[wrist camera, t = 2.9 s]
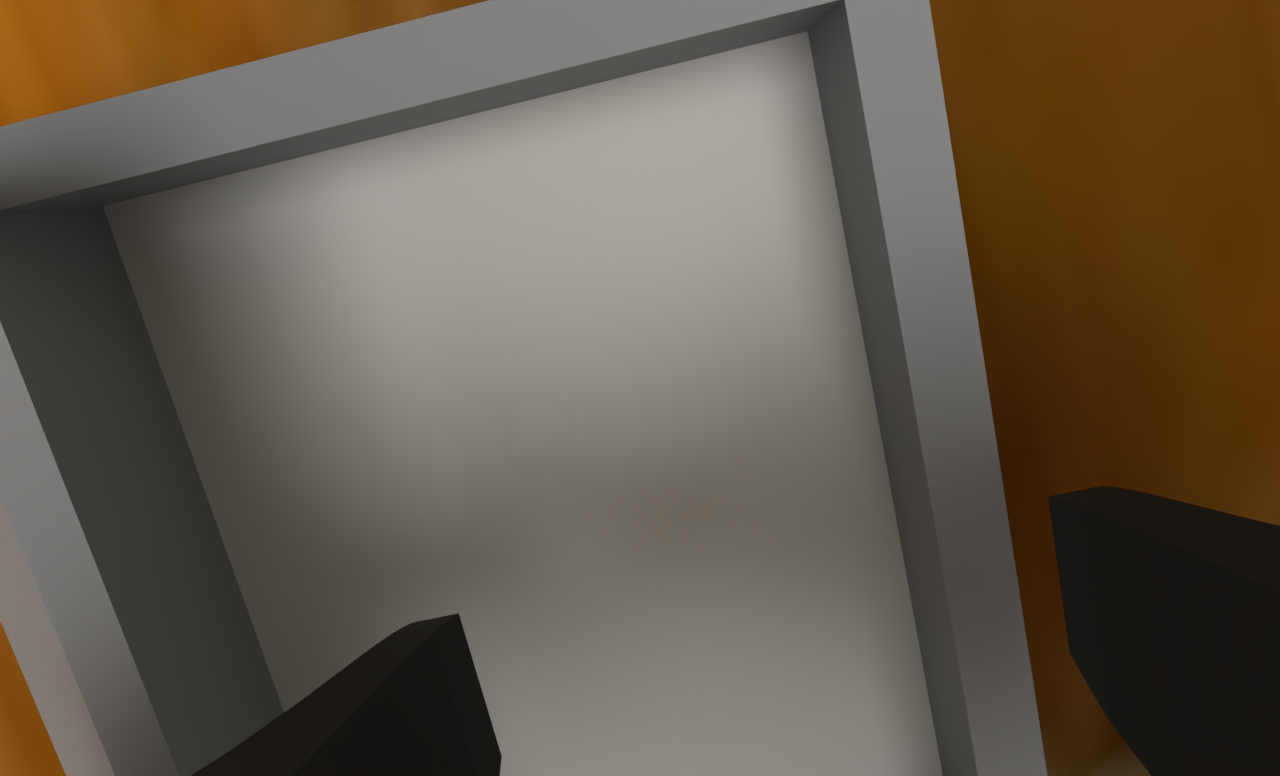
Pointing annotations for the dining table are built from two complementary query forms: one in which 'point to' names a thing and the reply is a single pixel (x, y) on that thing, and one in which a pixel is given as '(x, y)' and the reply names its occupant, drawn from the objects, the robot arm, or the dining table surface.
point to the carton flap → (65, 609)
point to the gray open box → (541, 384)
